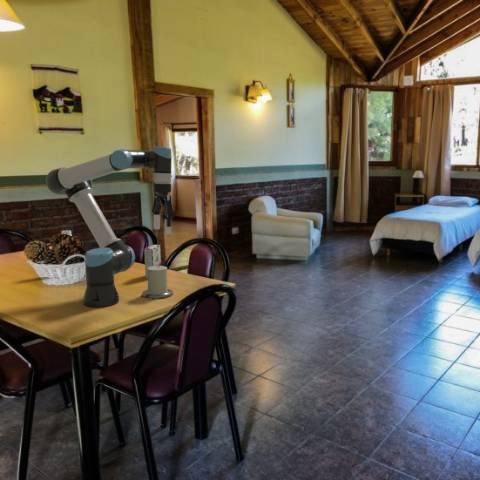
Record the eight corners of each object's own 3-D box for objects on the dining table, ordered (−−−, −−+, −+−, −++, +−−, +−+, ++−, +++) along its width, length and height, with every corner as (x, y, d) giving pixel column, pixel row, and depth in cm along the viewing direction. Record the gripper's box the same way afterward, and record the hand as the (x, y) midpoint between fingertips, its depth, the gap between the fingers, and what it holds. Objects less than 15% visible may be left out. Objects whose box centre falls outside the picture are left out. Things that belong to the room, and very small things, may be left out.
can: (169, 289, 221) (169, 265, 219) (164, 295, 212) (164, 269, 210) (151, 289, 222) (150, 264, 220) (145, 294, 213) (144, 268, 211)
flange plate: (152, 300, 208) (152, 297, 208) (136, 294, 218) (136, 291, 218) (178, 294, 217) (178, 292, 217) (162, 288, 227) (162, 286, 227)
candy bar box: (153, 273, 258) (152, 244, 256) (161, 274, 257) (160, 244, 255) (144, 278, 248) (143, 248, 245) (153, 279, 247) (152, 248, 244)
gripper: (182, 185, 192) (181, 235, 196) (160, 181, 214) (160, 226, 217) (164, 185, 189) (164, 236, 193) (144, 181, 210) (144, 227, 214)
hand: (162, 231), depth 205 cm, fingers open, 13 cm apart
